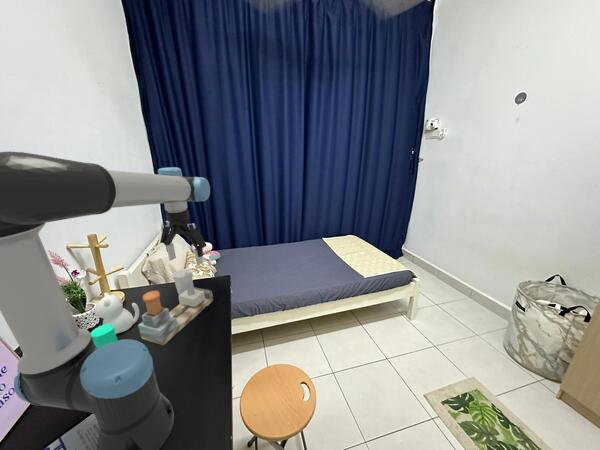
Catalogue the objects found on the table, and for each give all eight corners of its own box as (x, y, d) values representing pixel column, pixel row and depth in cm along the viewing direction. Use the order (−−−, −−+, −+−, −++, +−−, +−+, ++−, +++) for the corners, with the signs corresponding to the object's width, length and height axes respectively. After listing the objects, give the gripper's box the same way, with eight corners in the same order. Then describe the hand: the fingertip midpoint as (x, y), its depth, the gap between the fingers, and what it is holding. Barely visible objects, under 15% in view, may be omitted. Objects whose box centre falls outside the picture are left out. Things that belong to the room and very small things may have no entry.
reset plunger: (154, 318, 84) (150, 300, 81) (143, 315, 85) (139, 297, 83) (166, 309, 88) (162, 292, 86) (155, 306, 90) (151, 289, 87)
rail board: (163, 345, 85) (157, 321, 82) (141, 338, 88) (135, 315, 85) (213, 300, 109) (210, 280, 106) (194, 296, 112) (191, 277, 109)
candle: (109, 365, 77) (99, 334, 74) (93, 362, 79) (83, 331, 75) (125, 350, 83) (117, 320, 79) (110, 347, 84) (101, 318, 80)
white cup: (176, 289, 118) (173, 271, 115) (194, 285, 121) (191, 267, 118) (176, 298, 111) (172, 278, 108) (195, 293, 114) (192, 274, 111)
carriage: (195, 307, 100) (190, 279, 96) (179, 303, 102) (174, 276, 99) (205, 298, 105) (201, 272, 101) (190, 295, 108) (185, 269, 104)
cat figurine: (102, 328, 93) (90, 294, 89) (141, 314, 101) (131, 282, 96) (102, 342, 87) (89, 306, 82) (143, 326, 94) (134, 293, 89)
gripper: (211, 209, 91) (218, 261, 98) (159, 205, 99) (169, 253, 106) (197, 215, 84) (205, 270, 91) (142, 210, 92) (154, 261, 99)
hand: (186, 261), depth 98 cm, fingers open, 13 cm apart
